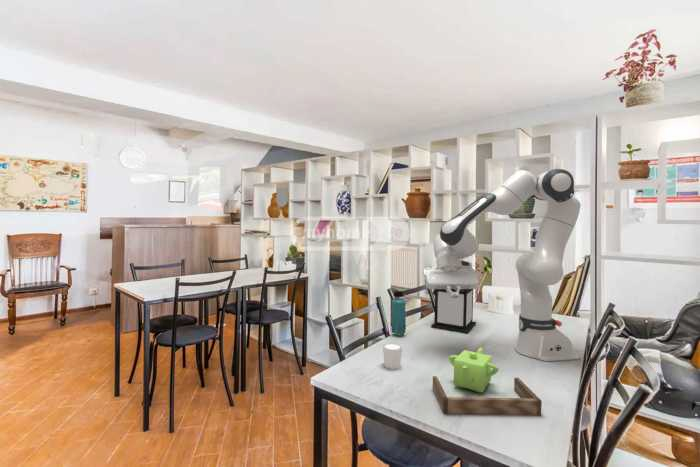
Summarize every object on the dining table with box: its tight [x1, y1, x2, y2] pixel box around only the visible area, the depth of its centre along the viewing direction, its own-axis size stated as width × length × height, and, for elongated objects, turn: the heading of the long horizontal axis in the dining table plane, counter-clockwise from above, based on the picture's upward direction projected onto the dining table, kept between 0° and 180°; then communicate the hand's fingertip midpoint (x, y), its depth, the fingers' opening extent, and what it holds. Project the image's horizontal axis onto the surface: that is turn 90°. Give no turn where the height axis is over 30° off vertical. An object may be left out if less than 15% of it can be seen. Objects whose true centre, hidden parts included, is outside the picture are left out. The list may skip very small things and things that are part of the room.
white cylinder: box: [382, 343, 403, 370], centre depth 129 cm, size 7×7×7 cm
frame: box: [432, 375, 543, 416], centre depth 105 cm, size 26×14×4 cm, turn 89°
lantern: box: [430, 258, 477, 335], centre depth 176 cm, size 17×17×35 cm
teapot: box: [448, 347, 500, 394], centre depth 115 cm, size 15×13×11 cm
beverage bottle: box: [390, 290, 407, 335], centre depth 162 cm, size 6×7×20 cm
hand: (455, 297), depth 136 cm, fingers closed
